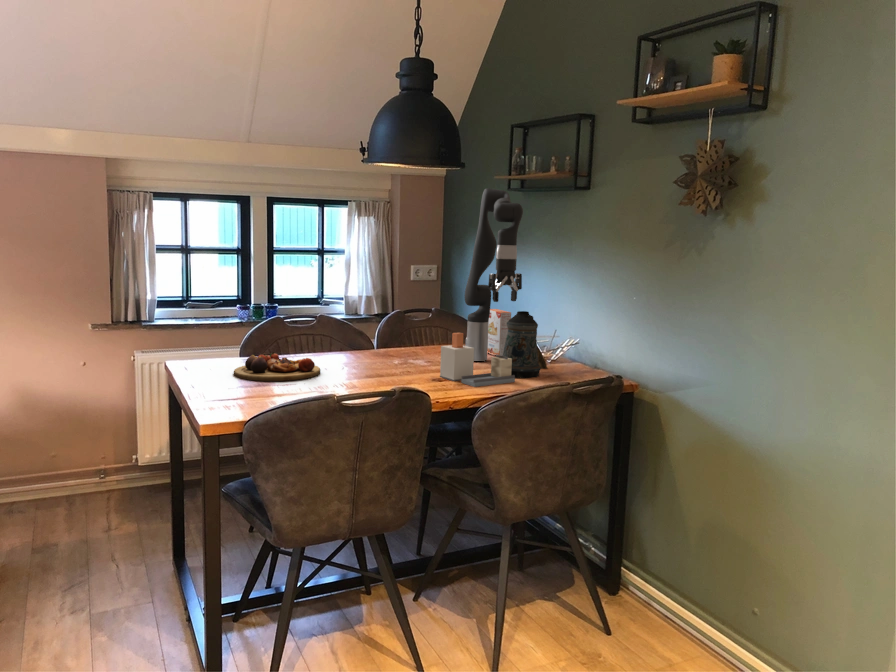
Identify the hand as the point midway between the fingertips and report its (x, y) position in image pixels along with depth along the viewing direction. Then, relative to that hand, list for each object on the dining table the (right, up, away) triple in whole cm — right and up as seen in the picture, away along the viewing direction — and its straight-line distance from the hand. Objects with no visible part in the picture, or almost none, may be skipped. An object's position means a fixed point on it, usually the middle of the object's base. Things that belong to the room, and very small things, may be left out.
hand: (504, 301), depth 261 cm
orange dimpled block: (-18, -21, +6) cm, 28 cm away
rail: (-6, -30, +1) cm, 31 cm away
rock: (+15, -26, +36) cm, 47 cm away
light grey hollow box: (-18, -29, +7) cm, 35 cm away
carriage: (-1, -28, +4) cm, 28 cm away
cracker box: (+1, -22, +63) cm, 67 cm away
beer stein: (+7, -28, +20) cm, 35 cm away
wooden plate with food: (-86, -28, +5) cm, 90 cm away
